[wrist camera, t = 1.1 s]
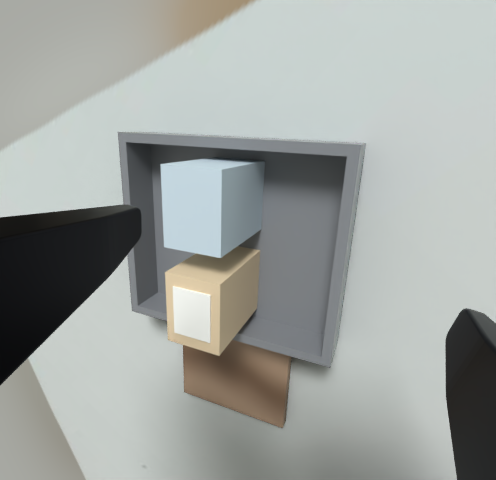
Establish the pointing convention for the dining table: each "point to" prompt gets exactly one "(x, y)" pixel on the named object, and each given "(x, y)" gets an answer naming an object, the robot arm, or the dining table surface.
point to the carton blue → (211, 204)
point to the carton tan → (211, 298)
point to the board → (240, 380)
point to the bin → (260, 232)
